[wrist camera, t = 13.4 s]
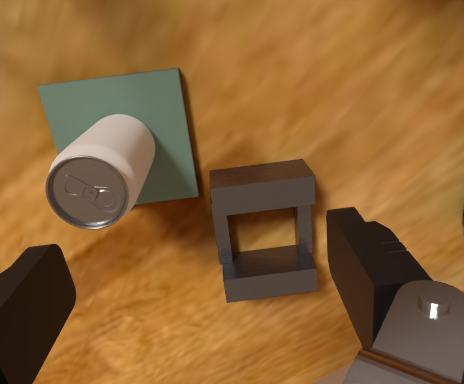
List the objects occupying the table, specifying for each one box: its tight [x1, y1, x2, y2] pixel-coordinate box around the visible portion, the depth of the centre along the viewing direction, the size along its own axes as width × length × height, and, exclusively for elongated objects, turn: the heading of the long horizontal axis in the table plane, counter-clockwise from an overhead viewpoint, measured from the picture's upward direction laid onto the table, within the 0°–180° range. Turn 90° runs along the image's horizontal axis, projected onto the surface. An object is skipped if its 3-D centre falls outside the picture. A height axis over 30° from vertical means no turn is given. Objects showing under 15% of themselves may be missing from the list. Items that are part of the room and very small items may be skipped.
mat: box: [37, 68, 199, 205], centre depth 37 cm, size 13×13×1 cm
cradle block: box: [210, 159, 318, 303], centre depth 40 cm, size 11×14×5 cm
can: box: [46, 114, 155, 230], centre depth 31 cm, size 6×6×12 cm
